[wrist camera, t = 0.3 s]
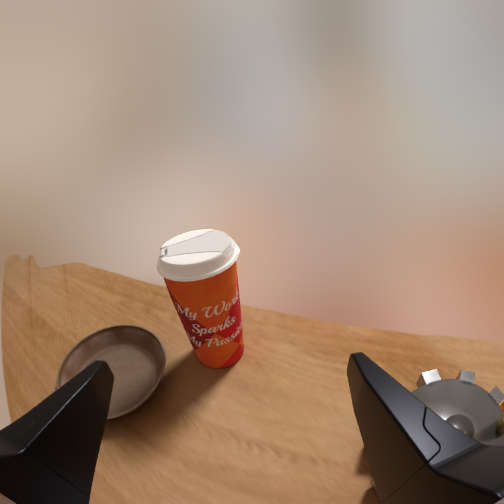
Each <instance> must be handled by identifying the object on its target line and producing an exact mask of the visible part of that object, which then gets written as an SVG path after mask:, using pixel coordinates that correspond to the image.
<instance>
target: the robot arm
mask: <svg viewBox="0 0 504 504" xmlns="http://www.w3.org/2000/svg"><path fill="white" fill-rule="evenodd" d="M347 376H348V381H349V387H350V392H351V398H352V403H353V408H354V413H355V416H356V419H357V423H358V426H359V429H360V433H361V436H362V439H363V443H364V446H365V450H366V453H367V457H368V460H369V464H370V467H371V471H372V475H373V478H374V482H375V486H376V490H377V494H378V498H379V502H380V504H504V445H487V444H484V443H481V442H479V441H477V440H475V439H473V438H472V437H470V436H469V435H467V434H465V433H464V432H462V431H461V430H459V429H457V428H456V427H454V426H453V425H451V424H450V423H448V422H447V421H445V420H444V419H443V418H441V417H440V416H439V415H437V414H436V413H435V412H434V411H432V410H431V409H430V408H429V407H426V405H425V404H424V403H423V402H421V401H420V400H419V399H418V398H417V397H415V396H414V395H413V394H412V393H411V392H409V391H408V390H407V389H406V388H405V387H403V386H402V385H401V384H400V383H399V382H397V381H396V380H395V379H394V378H393V377H391V376H390V375H389V374H388V373H387V372H385V371H384V370H383V369H382V368H381V367H379V366H378V365H377V364H376V363H375V362H373V361H372V360H371V359H370V358H369V357H367V356H366V355H365V354H364V353H362V352H357V353H352V354H351V355H350V357H349V362H348V367H347ZM113 384H114V375H113V373H112V371H111V369H110V367H109V365H108V363H107V362H106V361H104V360H95V361H94V362H93V363H91V364H90V365H89V366H87V367H86V368H85V369H83V370H82V371H81V372H80V373H78V374H77V375H76V376H74V377H73V378H72V379H70V380H69V381H68V382H66V383H65V384H64V385H63V386H61V387H60V388H59V389H57V390H56V391H55V392H54V393H52V394H51V395H50V396H48V397H47V398H46V399H44V400H43V401H42V402H41V403H39V404H38V405H37V406H35V407H34V408H33V409H32V410H30V411H29V412H28V413H26V414H25V415H23V416H22V417H21V418H19V419H18V420H16V421H15V422H13V423H11V424H10V425H8V426H7V427H5V428H4V429H2V430H0V504H89V500H90V493H91V487H92V482H93V477H94V472H95V467H96V462H97V458H98V453H99V449H100V445H101V440H102V436H103V432H104V428H105V425H106V421H107V417H108V413H109V408H110V402H111V396H112V390H113Z"/></svg>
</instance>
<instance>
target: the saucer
mask: <svg viewBox="0 0 504 504" xmlns="http://www.w3.org/2000/svg"><path fill="white" fill-rule="evenodd" d="M95 360H104V361H106V362H107V363H108V365H109V367H110V369H111V371H112V373H113V375H114V384H113V390H112V396H111V402H110V408H109V413H108V417H107V420H110V419H115V418H119V417H122V416H124V415H127V414H129V413H131V412H132V411H134V410H136V409H137V408H138V407H140V406H141V405H142V404H143V403H145V402H146V401H147V400H148V399H149V397H150V396H151V395H152V394H153V392H154V391H155V389H156V388H157V386H158V384H159V382H160V380H161V377H162V375H163V372H164V369H165V360H166V356H165V350H164V347H163V344H162V342H161V341H160V339H159V338H158V337H157V336H156V335H155V334H154V333H153V332H151V331H150V330H148V329H146V328H143V327H140V326H136V325H115V326H111V327H107V328H103V329H101V330H98V331H96V332H94V333H92V334H90V335H88V336H87V337H85V338H84V339H82V340H81V341H80V342H79V343H77V344H76V345H75V346H74V347H73V348H72V349H71V350H70V352H69V353H68V354H67V355H66V357H65V358H64V360H63V362H62V364H61V366H60V369H59V372H58V376H57V389H59V388H60V387H61V386H63V385H64V384H65V383H66V382H68V381H69V380H70V379H72V378H73V377H74V376H76V375H77V374H78V373H80V372H81V371H82V370H83V369H85V368H86V367H87V366H89V365H90V364H91V363H93V362H94V361H95Z"/></svg>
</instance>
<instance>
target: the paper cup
mask: <svg viewBox="0 0 504 504" xmlns="http://www.w3.org/2000/svg"><path fill="white" fill-rule="evenodd" d="M239 252H240V249H239V247H238V246H237V245H236V244H235V242H234V240H233V239H232V238H230V237H229V236H228V235H227V234H226V233H224V232H221V231H218V230H213V229H204V230H195V231H190V232H186V233H184V234H181V235H178V236H176V237H174V238H172V239H170V240H168V241H167V242H166V243H165V244H164V245H163V246H162V247H161V249H160V256H159V260H158V263H157V270H158V272H159V274H160V275H161V276H163V277H164V280H165V283H166V286H167V288H168V291H169V294H170V296H171V299H172V301H173V303H174V306H175V308H176V310H177V313H178V315H179V317H180V319H181V322H182V324H183V326H184V329H185V331H186V333H187V336H188V338H189V340H190V342H191V344H192V347H193V349H194V351H195V353H196V355H197V357H198V358H199V360H200V361H201V363H203V364H204V365H205V366H207V367H210V368H216V369H219V368H226V367H229V366H231V365H233V364H235V363H236V362H237V361H238V360H239V359H240V358H241V356H242V354H243V350H244V343H243V331H242V320H241V309H240V299H239V288H238V277H237V267H236V260H237V258H238V255H239Z"/></svg>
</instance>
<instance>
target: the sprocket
mask: <svg viewBox="0 0 504 504" xmlns="http://www.w3.org/2000/svg"><path fill="white" fill-rule="evenodd" d="M474 379H475V373H473V372H470V371H466V370H463V369H462V370H461V371H460V373H459V375H458V376H457V378H456V379H444V380H441V378H440V376H439V374H438V372H437V370H436V369H435V370H431V371H427V372H423V373H421V375H420V377H419V379H418V381H417V386H418V389H416V390H415V391H414V392H412V394H413V395H414V396H415V397H417V398H418V399H419V400H420V401H421V402H423V403H424V404H425V405H426V407H429V408H430V409H431V410H432V411H434V412H435V413H436V414H437V415H439V416H440V417H441V418H443V419H444V420H445V421H447V422H448V423H450V424H451V425H453V426H454V427H456V428H457V429H459V430H461V431H462V432H464V433H465V434H467V435H469V436H470V437H472V438H473V439H475V440H477V441H479V442H481V443H484V444H487V445H504V414H503V412H502V409H501V407H500V406H499V403H500V402H501V401H502V400H503V399H504V394H503V393H502V392H501V391H500V390H499V389H498V387H497V386H496V387H495V388H494V389H493V390H492V391H491V392H490V393H488V392H487V391H486V390H484V389H483V388H481V387H479V386H477V385H476V384H474ZM371 484H372V486H373V487H374V489H375V491H376V492H377V490H376V486H375V482H374V480H373V481H372V482H371Z"/></svg>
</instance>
